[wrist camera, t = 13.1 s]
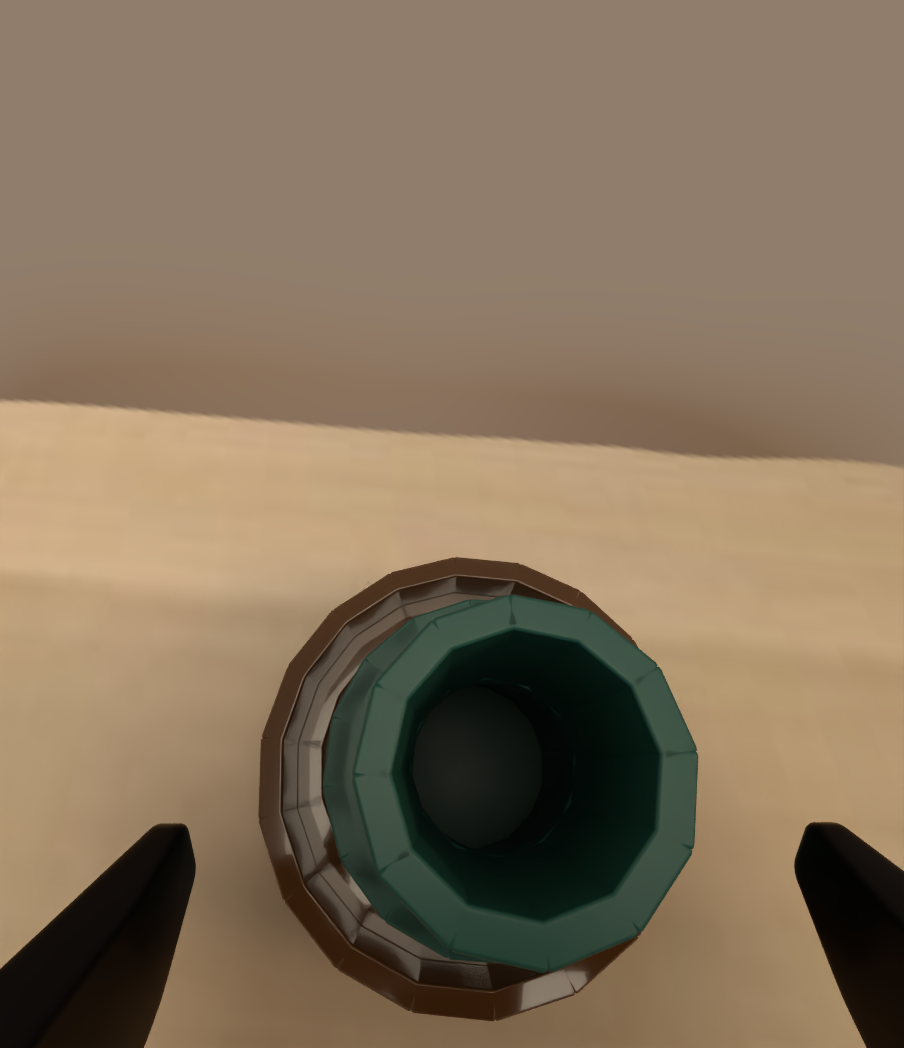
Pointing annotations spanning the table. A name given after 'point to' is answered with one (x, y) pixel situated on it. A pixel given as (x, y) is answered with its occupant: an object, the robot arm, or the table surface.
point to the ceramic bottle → (511, 783)
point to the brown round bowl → (304, 825)
